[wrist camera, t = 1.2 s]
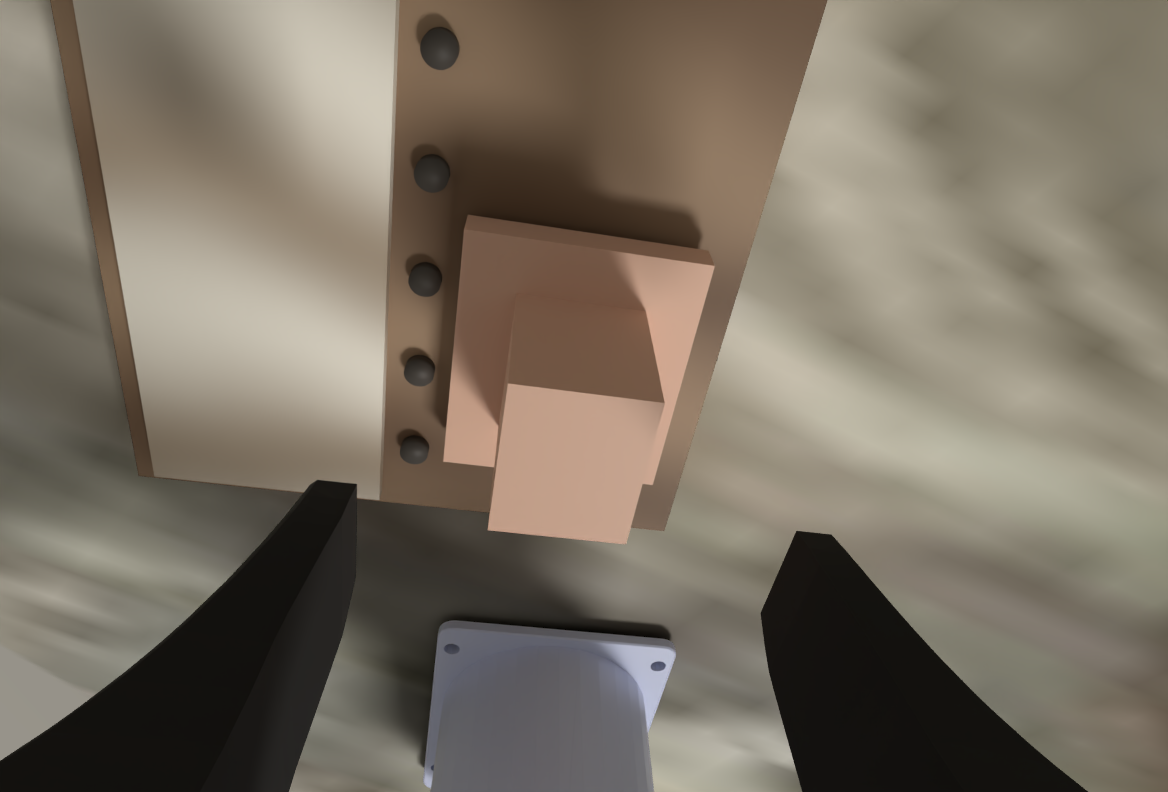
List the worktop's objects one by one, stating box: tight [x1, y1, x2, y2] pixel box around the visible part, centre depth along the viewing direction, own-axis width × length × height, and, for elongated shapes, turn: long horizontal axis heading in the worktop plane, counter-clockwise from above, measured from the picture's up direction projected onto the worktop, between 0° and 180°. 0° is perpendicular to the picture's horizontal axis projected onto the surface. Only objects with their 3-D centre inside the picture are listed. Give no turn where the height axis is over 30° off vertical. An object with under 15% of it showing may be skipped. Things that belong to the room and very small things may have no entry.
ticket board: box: [50, 0, 827, 531], centre depth 17 cm, size 16×14×2 cm
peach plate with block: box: [443, 215, 715, 544], centre depth 17 cm, size 6×5×4 cm
